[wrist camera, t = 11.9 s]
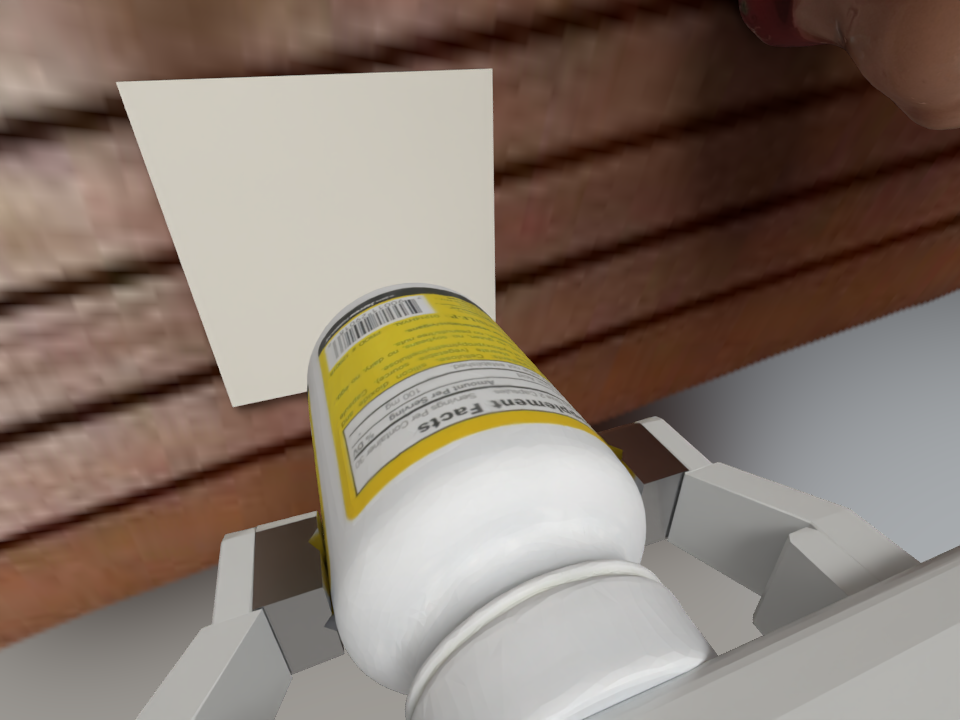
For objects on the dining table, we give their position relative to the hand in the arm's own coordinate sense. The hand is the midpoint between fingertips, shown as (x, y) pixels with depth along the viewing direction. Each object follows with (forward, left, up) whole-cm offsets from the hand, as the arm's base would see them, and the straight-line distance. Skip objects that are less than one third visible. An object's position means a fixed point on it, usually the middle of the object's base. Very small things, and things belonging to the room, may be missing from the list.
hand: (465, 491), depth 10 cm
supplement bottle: (0, 0, -5) cm, 5 cm away
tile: (0, 0, -17) cm, 17 cm away
